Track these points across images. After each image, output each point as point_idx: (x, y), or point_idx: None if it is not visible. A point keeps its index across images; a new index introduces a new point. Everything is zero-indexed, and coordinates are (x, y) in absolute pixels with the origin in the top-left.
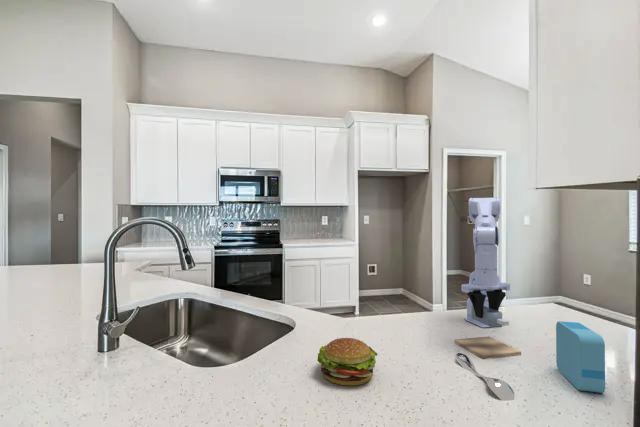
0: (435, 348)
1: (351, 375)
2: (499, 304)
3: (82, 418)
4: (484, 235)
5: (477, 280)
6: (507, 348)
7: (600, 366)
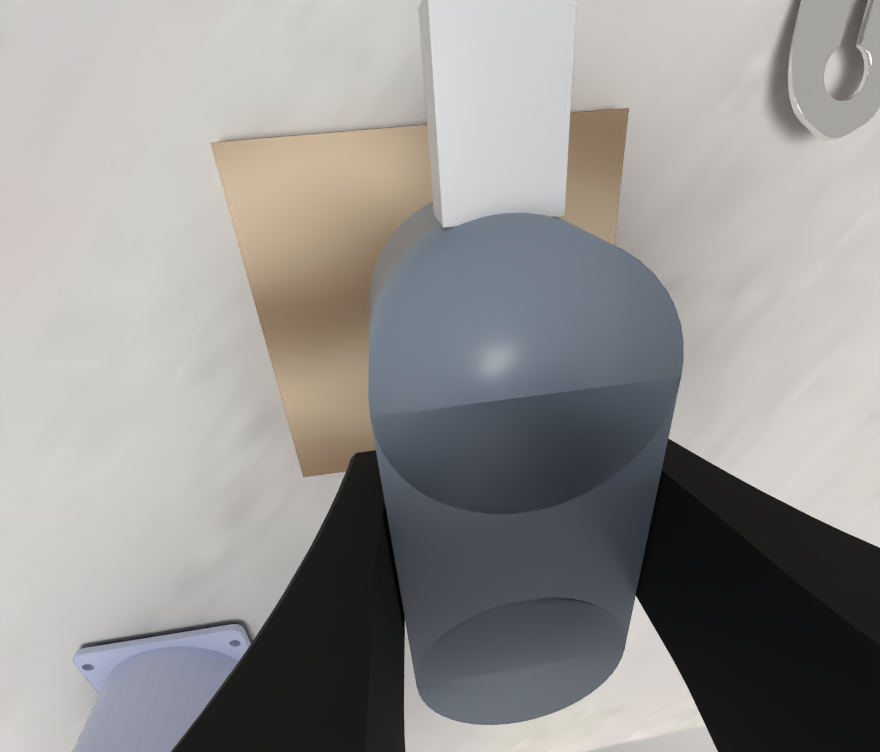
0: (777, 342)
1: None
2: (294, 624)
3: None
4: None
5: None
6: (299, 238)
7: None
